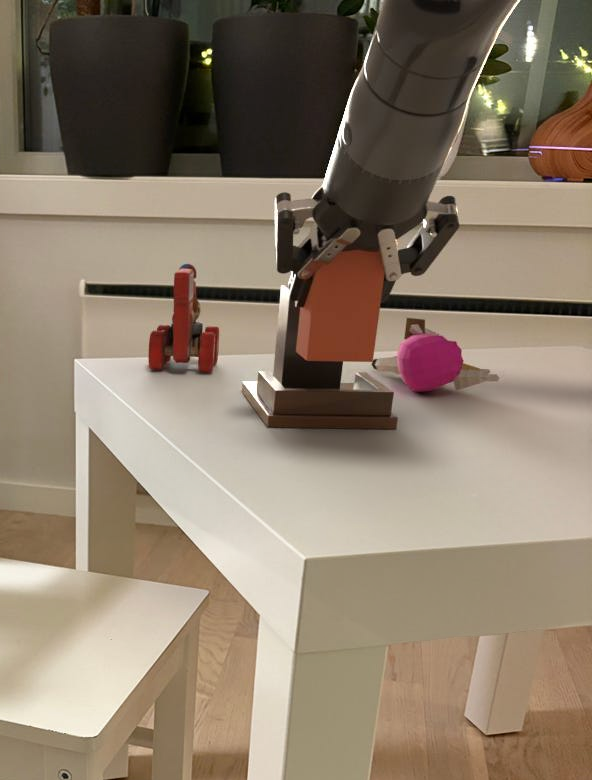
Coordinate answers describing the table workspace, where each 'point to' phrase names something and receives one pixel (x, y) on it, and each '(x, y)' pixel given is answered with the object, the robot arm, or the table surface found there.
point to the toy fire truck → (184, 329)
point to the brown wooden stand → (315, 387)
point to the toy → (431, 361)
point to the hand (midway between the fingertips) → (334, 298)
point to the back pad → (342, 309)
